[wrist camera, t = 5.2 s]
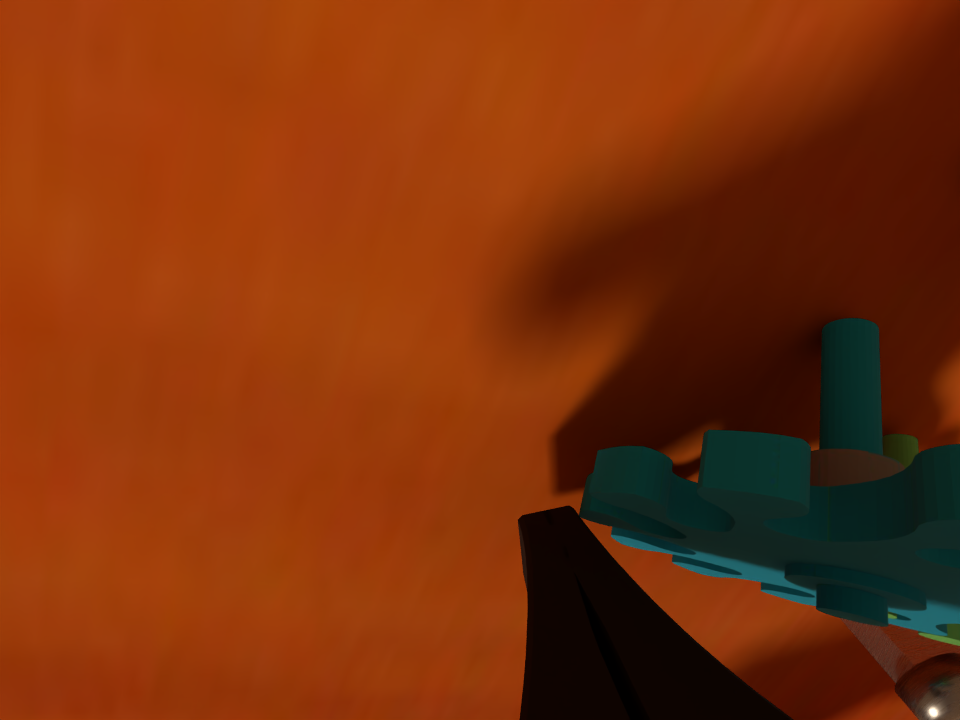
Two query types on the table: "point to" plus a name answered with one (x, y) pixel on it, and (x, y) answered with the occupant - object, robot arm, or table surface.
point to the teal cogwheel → (807, 505)
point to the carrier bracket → (916, 668)
